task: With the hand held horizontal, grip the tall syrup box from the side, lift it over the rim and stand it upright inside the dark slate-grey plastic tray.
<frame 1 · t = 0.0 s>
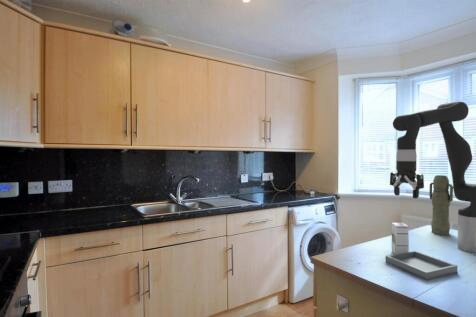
hand: (405, 196, 117), 29 cm above the counter, tool pointing down, fingers open, 8 cm apart
thermos: (440, 233, 161), on the counter
slate tray: (419, 267, 113), on the counter
syrup box: (399, 254, 128), on the counter
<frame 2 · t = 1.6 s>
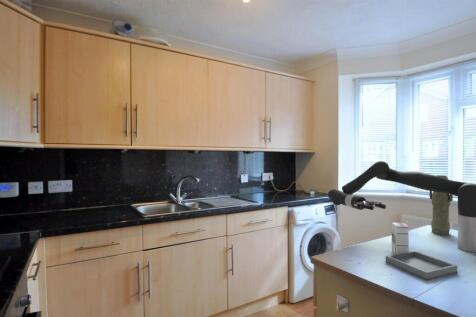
hand: (379, 207, 139), 20 cm above the counter, tool horizontal, fingers open, 8 cm apart
nothing on the counter moved.
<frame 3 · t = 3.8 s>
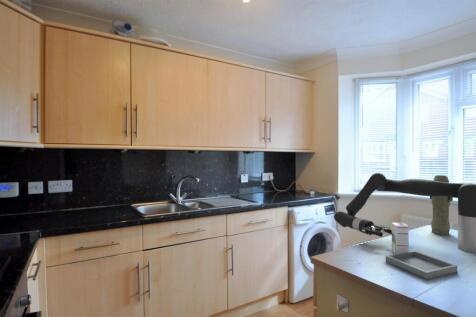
hand: (388, 233, 134), 8 cm above the counter, tool horizontal, fingers open, 8 cm apart
nothing on the counter moved.
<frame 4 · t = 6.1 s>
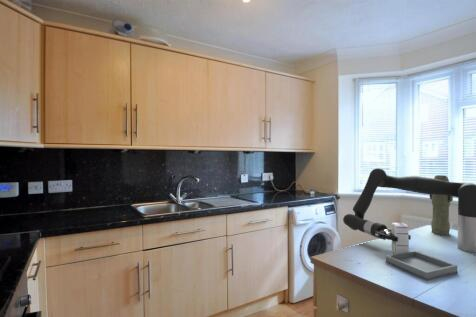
hand: (403, 238, 126), 8 cm above the counter, tool horizontal, fingers closed on syrup box, 8 cm apart
syrup box: (399, 254, 128), on the counter, touching gripper
everything else where it was.
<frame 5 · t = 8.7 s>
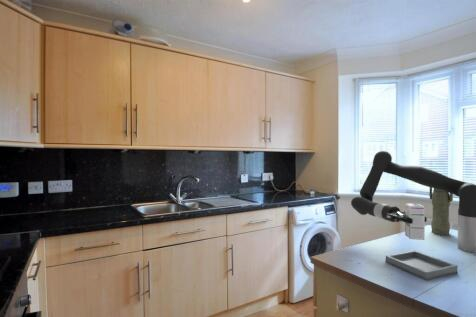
hand: (419, 220, 114), 20 cm above the counter, tool horizontal, fingers closed on syrup box, 8 cm apart
syrup box: (414, 238, 116), point 11 cm above the counter, touching gripper
everything else where it was.
when the fingers open (10 cm above the counter, at t = 11.5 s): syrup box drops 1 cm, resting on slate tray.
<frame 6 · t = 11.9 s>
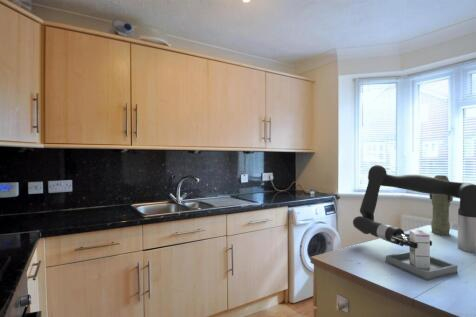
hand: (424, 244, 111), 10 cm above the counter, tool horizontal, fingers open, 8 cm apart
syrup box: (419, 266, 113), point 1 cm above the counter, touching gripper, slate tray
everything else where it was.
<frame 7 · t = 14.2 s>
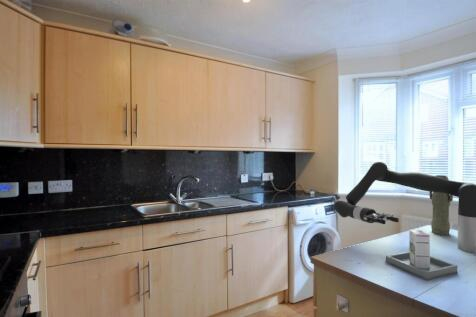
hand: (391, 221, 127), 16 cm above the counter, tool horizontal, fingers open, 8 cm apart
syrup box: (419, 265, 113), point 1 cm above the counter, touching slate tray
everything else where it was.
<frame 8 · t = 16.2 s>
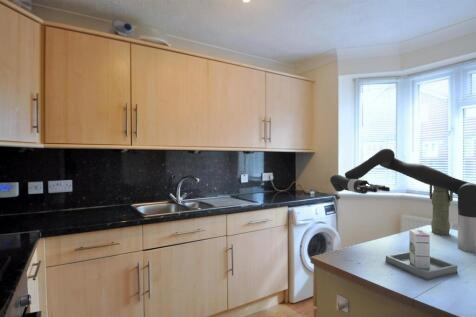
hand: (382, 189, 134), 30 cm above the counter, tool horizontal, fingers open, 8 cm apart
nothing on the counter moved.
at the end: syrup box inside the target area on the slate tray (0.2 cm from its centre), point 0.6 cm above the slate tray's base; syrup box tilted 0°; the gripper is holding nothing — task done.
